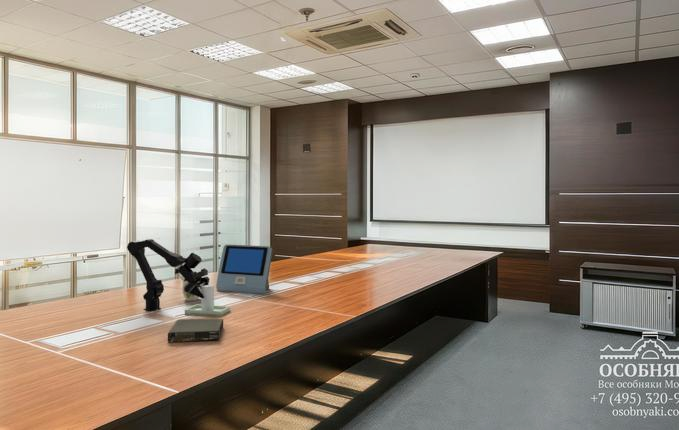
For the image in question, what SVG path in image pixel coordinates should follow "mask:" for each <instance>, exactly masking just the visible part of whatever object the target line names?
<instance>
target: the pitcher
mask: <svg viewBox="0 0 679 430" xmlns="http://www.w3.org/2000/svg"><path fill="white" fill-rule="evenodd" d="M178 278H179V279H181V281H182V295H183V298H184V300H186V301H189V302H191V301H192V302H193V301H194V302H195V301H197V300H199V298H200V297H198V296H196V295H193V294H190V293H189V292H190V291H189V292H188V293H186V292H185V291H184V288H185V287H186V286H187V285H188V284H189V283H188V282H187V281H184V277H183V276H182V275H179V276H178ZM198 288H199V290H200V291H201V289H200V288H201V287H198Z"/></svg>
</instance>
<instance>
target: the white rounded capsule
mask: <svg viewBox="0 0 679 430" xmlns="http://www.w3.org/2000/svg"><path fill="white" fill-rule="evenodd" d="M214 286H215V285H212V284H211V285H210V284H209V285H205V286H201V293H202V294H203V296H204V298H201V299H200V300H201V301H200V303H201V304H200V305H201V310H208V311H214V305H215V287H214Z"/></svg>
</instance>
